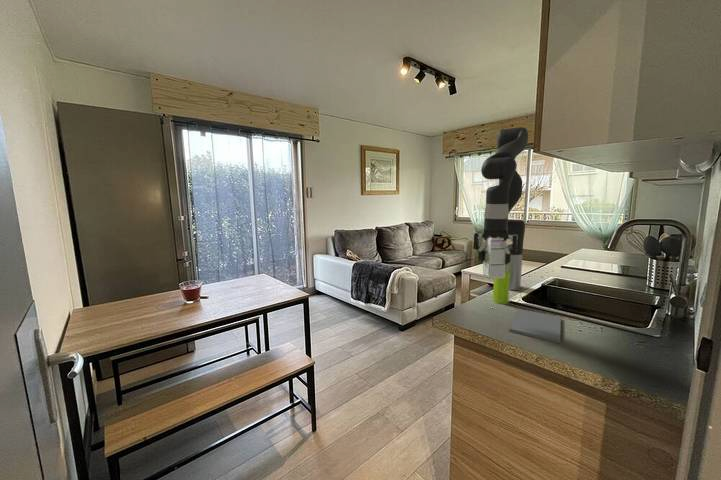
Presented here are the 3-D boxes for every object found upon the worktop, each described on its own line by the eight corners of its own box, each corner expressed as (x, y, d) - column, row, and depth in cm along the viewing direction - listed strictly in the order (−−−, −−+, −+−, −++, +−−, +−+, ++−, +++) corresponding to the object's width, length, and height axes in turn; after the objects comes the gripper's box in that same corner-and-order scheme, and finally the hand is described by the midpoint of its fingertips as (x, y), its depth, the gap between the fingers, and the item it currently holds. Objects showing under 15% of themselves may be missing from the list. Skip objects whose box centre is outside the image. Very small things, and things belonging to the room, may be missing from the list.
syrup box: (505, 278, 100) (508, 237, 98) (488, 278, 100) (490, 238, 98) (498, 273, 106) (500, 235, 103) (482, 274, 106) (483, 235, 103)
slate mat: (517, 311, 112) (517, 308, 112) (560, 319, 104) (560, 316, 104) (509, 331, 96) (509, 328, 96) (559, 343, 88) (560, 340, 88)
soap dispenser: (513, 303, 120) (516, 257, 117) (496, 304, 120) (498, 257, 117) (506, 298, 126) (509, 254, 122) (490, 298, 126) (492, 254, 123)
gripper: (520, 216, 98) (517, 262, 101) (477, 215, 106) (475, 258, 109) (517, 218, 92) (514, 267, 95) (472, 217, 100) (470, 262, 103)
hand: (493, 262), depth 102 cm, fingers closed on syrup box, 7 cm apart
